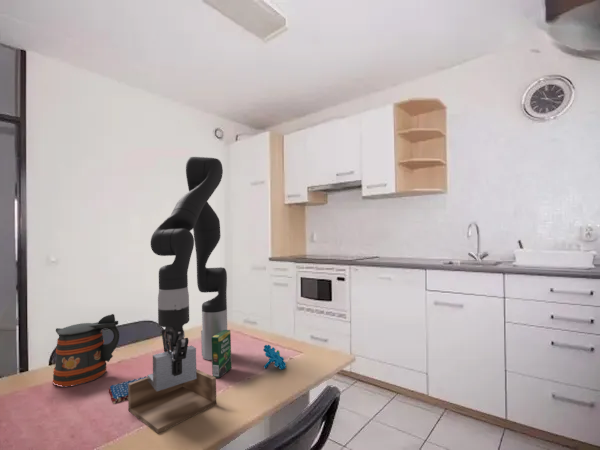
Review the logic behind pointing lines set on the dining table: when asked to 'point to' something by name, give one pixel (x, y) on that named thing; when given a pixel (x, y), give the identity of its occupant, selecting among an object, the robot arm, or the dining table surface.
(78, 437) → the dining table surface
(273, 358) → the gear
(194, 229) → the robot arm
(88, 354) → the beer stein
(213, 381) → the corner arena
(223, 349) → the coffee box
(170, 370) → the bracket
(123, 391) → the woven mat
